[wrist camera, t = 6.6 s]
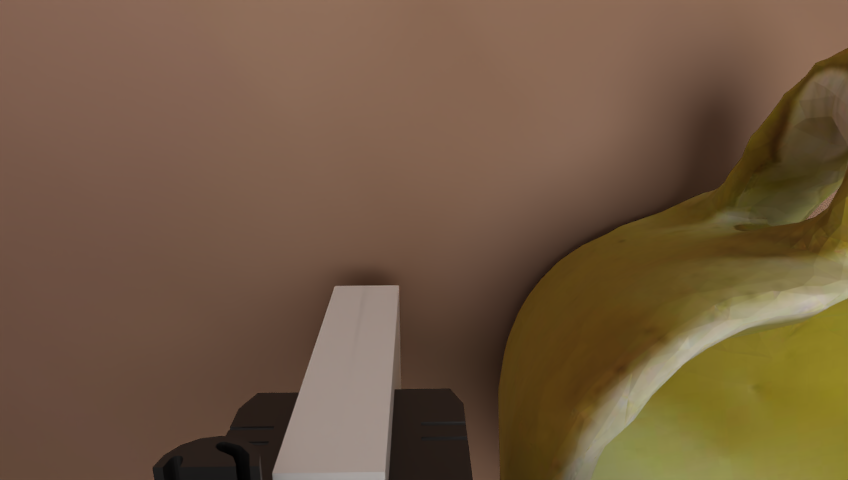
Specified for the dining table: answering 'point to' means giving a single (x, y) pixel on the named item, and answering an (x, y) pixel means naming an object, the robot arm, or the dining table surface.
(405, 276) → the dining table surface
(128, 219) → the dining table surface
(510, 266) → the dining table surface
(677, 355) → the mug
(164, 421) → the dining table surface
